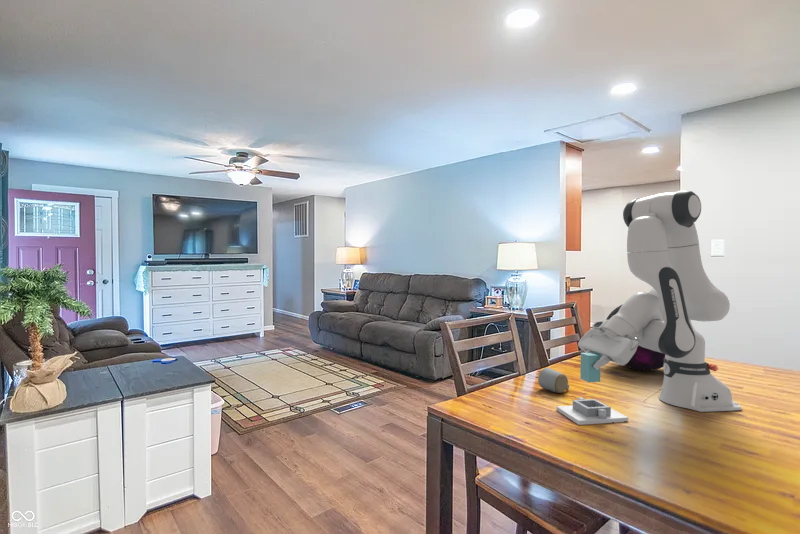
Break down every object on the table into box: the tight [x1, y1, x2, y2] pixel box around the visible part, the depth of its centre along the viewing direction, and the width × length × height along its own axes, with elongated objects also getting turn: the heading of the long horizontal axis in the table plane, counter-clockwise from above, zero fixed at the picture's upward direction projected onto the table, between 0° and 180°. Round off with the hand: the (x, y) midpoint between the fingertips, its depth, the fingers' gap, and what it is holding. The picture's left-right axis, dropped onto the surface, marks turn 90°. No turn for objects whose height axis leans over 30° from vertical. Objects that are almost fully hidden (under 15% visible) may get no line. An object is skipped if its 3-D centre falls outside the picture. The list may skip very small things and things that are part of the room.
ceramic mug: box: [537, 367, 570, 394], centre depth 152 cm, size 11×8×8 cm
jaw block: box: [579, 352, 602, 383], centre depth 127 cm, size 4×4×8 cm
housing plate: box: [556, 396, 629, 426], centre depth 127 cm, size 16×12×4 cm
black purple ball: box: [605, 303, 665, 372], centre depth 182 cm, size 30×30×30 cm
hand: (588, 365), depth 127 cm, fingers closed on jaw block, 4 cm apart
